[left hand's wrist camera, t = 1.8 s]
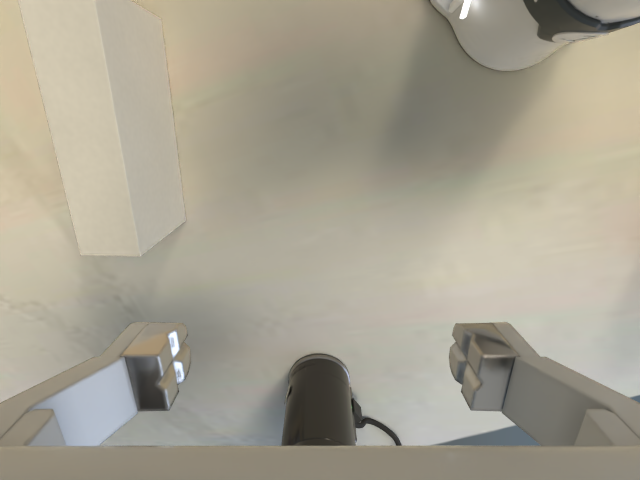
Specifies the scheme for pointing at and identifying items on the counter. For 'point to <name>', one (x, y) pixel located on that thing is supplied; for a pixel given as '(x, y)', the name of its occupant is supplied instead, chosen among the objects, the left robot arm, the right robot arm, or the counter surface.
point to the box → (108, 120)
